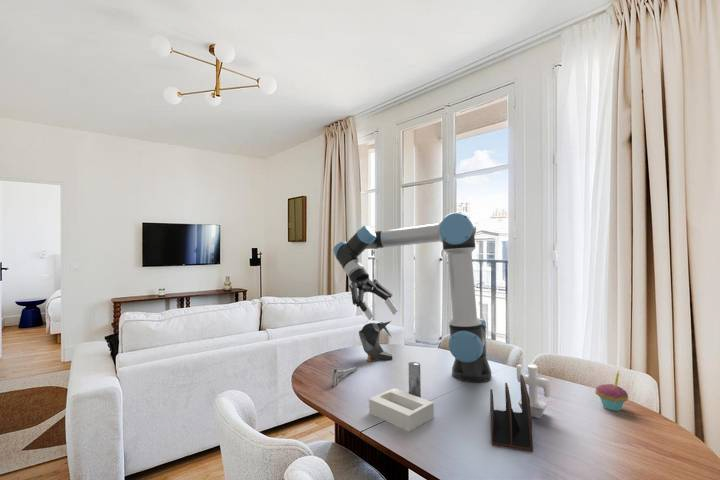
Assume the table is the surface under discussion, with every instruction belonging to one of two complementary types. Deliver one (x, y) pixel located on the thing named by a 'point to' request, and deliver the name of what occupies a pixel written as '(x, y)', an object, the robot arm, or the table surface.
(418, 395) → the pin
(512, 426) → the letter holder
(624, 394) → the cupcake
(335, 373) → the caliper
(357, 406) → the table surface
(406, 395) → the block
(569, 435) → the table surface
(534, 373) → the figurine
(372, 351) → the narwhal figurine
